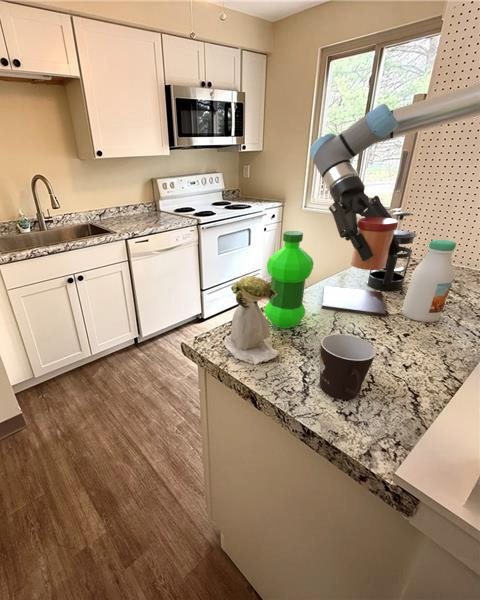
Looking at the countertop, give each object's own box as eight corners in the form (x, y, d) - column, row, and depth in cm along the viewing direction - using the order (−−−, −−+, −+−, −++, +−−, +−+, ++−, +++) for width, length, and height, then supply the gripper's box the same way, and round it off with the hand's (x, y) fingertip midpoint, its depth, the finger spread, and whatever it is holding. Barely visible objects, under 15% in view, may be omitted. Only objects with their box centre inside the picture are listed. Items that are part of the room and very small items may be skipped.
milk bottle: (412, 323, 79) (436, 247, 70) (394, 309, 86) (414, 238, 77) (446, 322, 77) (475, 245, 69) (426, 308, 84) (449, 236, 76)
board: (380, 294, 94) (381, 291, 94) (385, 317, 83) (386, 313, 82) (324, 288, 101) (324, 286, 101) (321, 308, 90) (321, 305, 89)
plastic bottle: (276, 311, 91) (285, 226, 80) (312, 323, 83) (326, 231, 72) (255, 323, 86) (261, 234, 75) (290, 337, 78) (302, 240, 67)
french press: (366, 277, 106) (382, 209, 96) (401, 281, 101) (421, 209, 91) (366, 290, 97) (382, 216, 87) (404, 295, 92) (426, 217, 82)
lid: (394, 223, 79) (396, 217, 79) (398, 231, 73) (400, 224, 72) (356, 223, 83) (357, 217, 83) (357, 230, 77) (358, 223, 76)
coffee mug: (319, 369, 66) (326, 329, 62) (367, 384, 61) (379, 342, 57) (303, 401, 59) (310, 358, 54) (357, 422, 53) (369, 376, 49)
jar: (383, 261, 84) (394, 219, 79) (386, 271, 78) (398, 225, 73) (350, 259, 87) (358, 218, 83) (351, 268, 82) (359, 225, 77)
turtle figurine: (228, 364, 71) (230, 292, 63) (221, 334, 82) (222, 270, 74) (282, 364, 69) (291, 289, 61) (267, 333, 81) (273, 267, 73)
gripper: (365, 189, 91) (403, 256, 83) (303, 197, 88) (336, 268, 80) (386, 170, 84) (430, 242, 76) (319, 178, 81) (357, 254, 73)
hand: (382, 255), depth 78 cm, fingers closed on jar, 8 cm apart
